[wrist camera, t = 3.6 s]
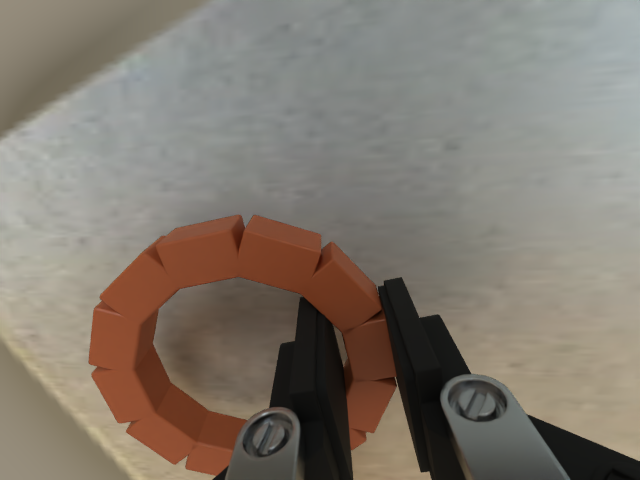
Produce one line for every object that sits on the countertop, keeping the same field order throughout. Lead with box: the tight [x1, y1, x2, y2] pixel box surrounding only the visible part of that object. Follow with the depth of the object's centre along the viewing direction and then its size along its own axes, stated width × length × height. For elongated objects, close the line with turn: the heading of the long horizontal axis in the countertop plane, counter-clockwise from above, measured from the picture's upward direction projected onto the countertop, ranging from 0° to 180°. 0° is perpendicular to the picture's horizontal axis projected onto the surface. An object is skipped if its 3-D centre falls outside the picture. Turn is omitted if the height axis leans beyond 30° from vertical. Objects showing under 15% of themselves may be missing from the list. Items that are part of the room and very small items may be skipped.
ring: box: [89, 215, 397, 476], centre depth 11 cm, size 9×9×1 cm
